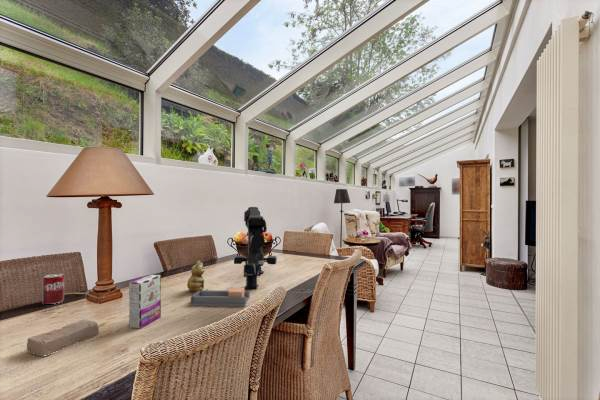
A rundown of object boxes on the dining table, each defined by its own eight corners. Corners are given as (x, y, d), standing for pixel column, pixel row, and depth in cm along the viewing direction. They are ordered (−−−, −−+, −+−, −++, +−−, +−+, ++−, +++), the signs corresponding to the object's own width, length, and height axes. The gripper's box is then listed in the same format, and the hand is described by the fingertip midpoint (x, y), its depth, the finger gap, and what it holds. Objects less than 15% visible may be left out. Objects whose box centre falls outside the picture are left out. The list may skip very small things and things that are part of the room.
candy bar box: (150, 315, 114) (150, 274, 114) (161, 317, 113) (161, 275, 113) (127, 328, 103) (128, 281, 103) (139, 329, 102) (140, 282, 102)
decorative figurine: (204, 292, 142) (205, 262, 142) (186, 294, 140) (187, 263, 140) (204, 287, 151) (204, 258, 152) (187, 288, 149) (187, 259, 149)
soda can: (67, 301, 129) (67, 274, 129) (47, 306, 122) (48, 278, 122) (58, 298, 132) (58, 272, 132) (38, 303, 125) (39, 276, 125)
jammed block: (231, 296, 133) (231, 287, 133) (244, 296, 133) (244, 287, 133) (228, 300, 127) (228, 291, 127) (241, 300, 127) (241, 291, 127)
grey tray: (199, 296, 137) (199, 289, 137) (249, 297, 136) (249, 290, 136) (189, 305, 125) (189, 297, 125) (244, 306, 124) (245, 298, 124)
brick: (83, 330, 101) (83, 317, 101) (100, 334, 98) (100, 320, 98) (25, 354, 85) (25, 338, 85) (43, 359, 82) (43, 343, 82)
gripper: (231, 247, 123) (230, 283, 123) (274, 247, 123) (274, 284, 122) (236, 243, 134) (236, 276, 134) (276, 243, 134) (276, 277, 134)
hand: (255, 278), depth 131 cm, fingers closed
